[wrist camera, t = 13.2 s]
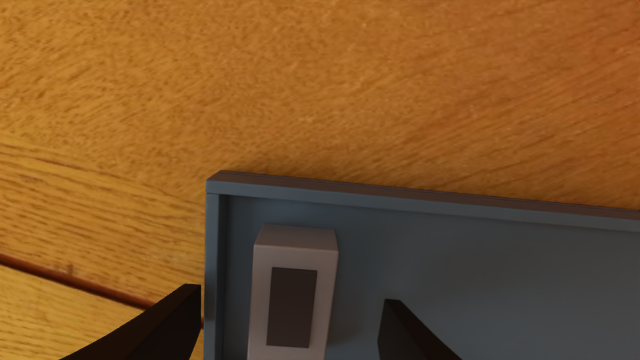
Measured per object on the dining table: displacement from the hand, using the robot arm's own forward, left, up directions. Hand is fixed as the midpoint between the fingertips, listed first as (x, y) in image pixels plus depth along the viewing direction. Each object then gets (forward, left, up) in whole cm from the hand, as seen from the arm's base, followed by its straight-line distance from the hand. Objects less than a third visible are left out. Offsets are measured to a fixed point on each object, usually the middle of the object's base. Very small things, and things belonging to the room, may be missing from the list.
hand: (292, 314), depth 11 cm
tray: (0, -10, -2) cm, 10 cm away
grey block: (0, 0, -2) cm, 2 cm away
